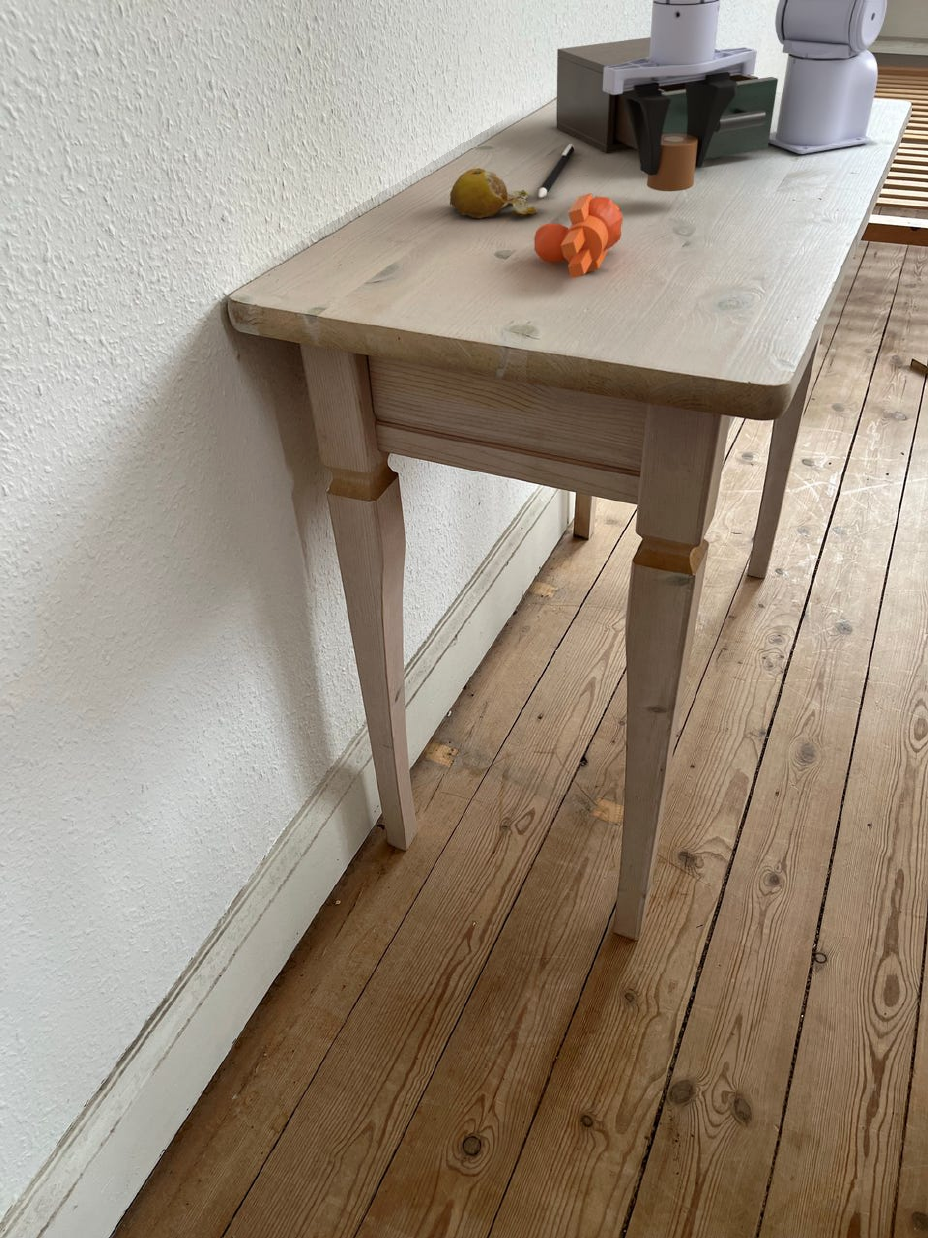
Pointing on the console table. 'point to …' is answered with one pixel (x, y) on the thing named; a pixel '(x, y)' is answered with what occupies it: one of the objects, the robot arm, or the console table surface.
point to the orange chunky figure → (581, 235)
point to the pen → (556, 170)
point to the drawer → (737, 127)
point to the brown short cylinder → (675, 163)
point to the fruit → (486, 195)
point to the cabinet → (592, 90)
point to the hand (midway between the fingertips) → (671, 168)
